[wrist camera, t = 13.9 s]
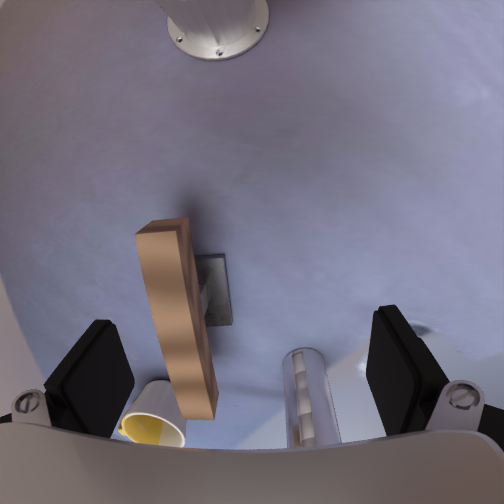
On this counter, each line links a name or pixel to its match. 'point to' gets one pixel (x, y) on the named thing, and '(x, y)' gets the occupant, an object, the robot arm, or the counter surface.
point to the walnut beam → (178, 314)
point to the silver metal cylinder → (308, 401)
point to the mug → (155, 417)
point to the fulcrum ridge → (214, 289)
